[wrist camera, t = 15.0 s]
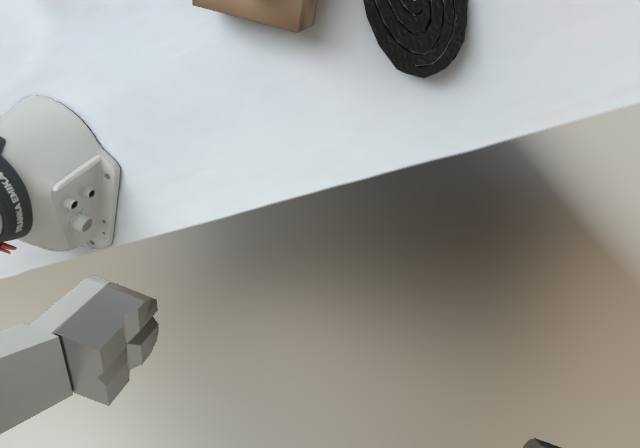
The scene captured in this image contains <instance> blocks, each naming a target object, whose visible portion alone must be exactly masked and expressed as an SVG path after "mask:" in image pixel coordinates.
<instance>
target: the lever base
mask: <svg viewBox="0 0 640 448" xmlns="http://www.w3.org/2000/svg"><path fill="white" fill-rule="evenodd" d="M193 5H194V6H198V7H202V8H206V9H209V10H213V11H217V12H221V13H225V14H228V15H232V16H236V17H240V18H244V19H247V20H251V21H255V22H259V23H263V24H266V25H270V26H274V27H278V28H281V29H285V30H289V31H293V32H297V33H298V32H300V31H302V30H304V29H306V28H308V27H310V26H312V25H313V24H314V17H315V11H316V5H317V0H193Z"/></svg>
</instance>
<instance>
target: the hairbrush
mask: <svg viewBox="0 0 640 448" xmlns="http://www.w3.org/2000/svg"><path fill="white" fill-rule="evenodd" d="M402 1H403V2H404V4H405V5H406V7H407V8H408V10H409V11H408V10H407V9H406V8H405V7H404V6H402V5H403V4H402V3H401V1H400V0H390V2H391V6H392V8H393V10H394V11H395V13H396V14H397V16H398V17H399V19H400V20H401V22H402V23H403V24H402V23H401V22H400V21H399V20H398V19H397V17H396V16H395V15H394V12H392V11H393V10H391V9H392V8H391V6H390V3H389V1H388V0H377V4H378V7H377V5H376V2H375V0H364V5H365V10H366V15H367V18H368V21H369V23H370V25H371V28H372V30H373V32H374V35H375V37H376V39H377V42H378V44H379V46H380V47H381V48H382V50H383V51H384V52H385V54H386V55H387V56H388V58H389V59H390V61H391V62H392V63H393V65H394V66H395V67H396V69H397V70H400V71H402V72H404V73H406V74H410V75H414V76H418V77H422V78H426V77H428V76H431V75H433V74H436V73H438V72H440V71H441V70H443V69H445V68H446V67H448V66H449V65H450V63H451V62H452V61H453V60H454V59H455V57H456V56H457V54H458V52H459V50H460V48H461V46H462V44H463V42H464V38H465V29H466V23H467V3H468V0H455V5H456V15H457V21H456V27H455V30H454V34H453V37H452V40H451V42H450V44H449V46H448V48H447V50H446V51H445V53H444V54H443V55H442V56H441V58H440V59H439V60H438V61H436V62H435V63H434V64H433V65H424V64H431V63H432V62H434V61H435V60H436V59H437V58H438V57H439V56H440V55H441V54H442V52H443V51H444V49H445V47H446V45H447V43H448V42H449V40H450V38H451V36H452V33H453V26H454V19H455V7H454V0H444V1H445V27H444V30H443V33H442V36H441V38H440V35H441V31H442V27H443V23H444V4H443V0H432V14H433V19H432V22H431V24H430V26H429V28H428V31H427V32H426V33H424V34H414V33H418V32H419V33H420V32H424V31H425V30H426V29H427V27H428V25H429V23H430V20H431V2H430V0H416V1H414V2H413V0H402ZM403 7H404V8H405V9H404V8H403ZM377 9H379V10H377ZM422 10H424V12H423V13H421V14H419V15H416V16H413V15H412V14H411V13H414V14H417V13H420V12H421V11H422ZM379 11H380V12H379ZM410 12H411V13H410ZM380 13H381V15H382V17H383V19H384V21H385V22H386V24H387V26H388V28H389V29H388V28H387V26H386V25H385V23H384V22H383V20H382V17H381V15H380ZM406 27H407V28H408V29H410V30H411V31H413V32H414V33H412V32H411V31H409V30H408V29H407V28H406ZM394 37H395V38H396V39H397V40H398V41H399V42H400V43H401V44H402V45H401V44H400V43H398V42H397V41H396V39H395V38H394ZM439 38H440V41H439V43H438V45H437V46H436V48H435V49H434V50H432V51H431V52H429V53H428V54H426V55H424V54H418V53H424V52H427V51H429V50H431V49H432V48H433V47H434V46H435V44H436V43H437V41H438V40H439ZM403 45H404V46H405V47H406V48H405V47H404V46H403ZM408 49H409V50H412V51H415V52H418V53H412V52H411V51H409V50H408ZM415 65H424V66H415Z"/></svg>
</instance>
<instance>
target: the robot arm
mask: <svg viewBox="0 0 640 448" xmlns="http://www.w3.org/2000/svg"><path fill="white" fill-rule="evenodd" d="M119 179H120V167H119V165H118V164H117V162H116V161H115V160H114V159H113V158H112V157H111V156H110V155H109V154H108V153H106V152H105V151H104V150H103V149H102V148H101V146H100V145H99V143H98V142H97V140H96V139H95V137H94V136H93V134H92V133H91V131H90V130H89V129H88V127H87V126H86V125H85V124H84V123H83V121H82V120H81V119H80V118H79V117H78V116H77V115H75V114H74V113H73V112H72V111H71V110H69V109H68V108H67V107H65V106H64V105H62V104H60V103H58V102H56V101H54V100H52V99H49V98H46V97H42V96H29V97H25V98H23V99H21V100H20V101H18V102H17V103H16V104H15V105H14V106H13V107H12V108H10V109H9V110H8V111H6V112H5V113H4V114H2V115H1V116H0V251H3V252H6V253H9V254H10V251H8V250H6V249H10V250H16V249H17V248H16V247H14V246H12V245H9V244H6V243H4V242H5V241H10V240H14V239H18V240H20V241H23V242H26V243H28V244H31V245H34V246H37V247H40V248H43V249H47V250H51V251H69V250H72V249H74V248H77V247H79V246H82V247H87V248H95V249H97V248H105V247H108V246H109V245H111V244H112V241H113V233H114V224H115V215H116V206H117V197H118V188H119ZM4 248H5V249H4ZM157 310H158V309H157V300H156V299H153V298H151V297H148V296H146V295H143V294H141V293H138V292H136V291H133V290H131V289H128V288H126V287H123V286H121V285H118V284H116V283H114V282H111V281H108V280H106V279H103V278H100V277H98V276H95V275H92V276H89V277H87V278H85V279H83V280H82V281H81V282H80V283H79V284H77V285H76V286H75V287H74V288H73V289H72V290H70V291H69V292H68V293H67V294H66V295H64V296H63V297H62V298H61V299H60V300H59V301H57V302H56V303H55V304H54V305H53V306H52V307H50V308H49V309H48V310H47V311H46V312H44V314H42V315H41V316H40V317H39V318H38V319H36V320H35V321H34V322H33V323H32V324H27V323H21V324H18V325H15V326H12V327H9V328H6V329H3V330H0V434H1V433H3V432H5V431H7V430H9V429H10V428H12V427H14V426H16V425H18V424H20V423H22V422H24V421H25V420H27V419H29V418H31V417H33V416H35V415H36V414H38V413H40V412H42V411H44V410H46V409H48V408H49V407H51V406H53V405H55V404H57V403H58V402H60V401H62V400H64V399H66V398H68V397H70V396H72V395H73V392H74V393H76V394H79V395H82V396H84V397H87V398H90V399H92V400H95V401H97V402H100V403H103V404H106V405H108V406H109V405H110V404H111V403H112V401H113V400H114V399H115V398H116V396H117V395H118V394H119V393H120V391H121V390H122V389H123V388H124V386H125V385H126V384H127V383H128V381H129V371H130V369H132V368H134V367H137V366H139V365H141V364H143V362H144V361H145V360H146V359H147V357H148V356H149V355H150V353H151V351H152V349H153V347H154V345H155V343H156V341H157V336H158V323H157V322H156V321H155V319H154V317H153V315H154V314H155V312H157ZM523 448H561V447H558V446H555V445H553V444H550V443H547V442H544V441H541V440H539V439H536V438H534V439H530V440H529V441H528V442H527V443H526V444H525V445H524V446H523Z"/></svg>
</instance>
